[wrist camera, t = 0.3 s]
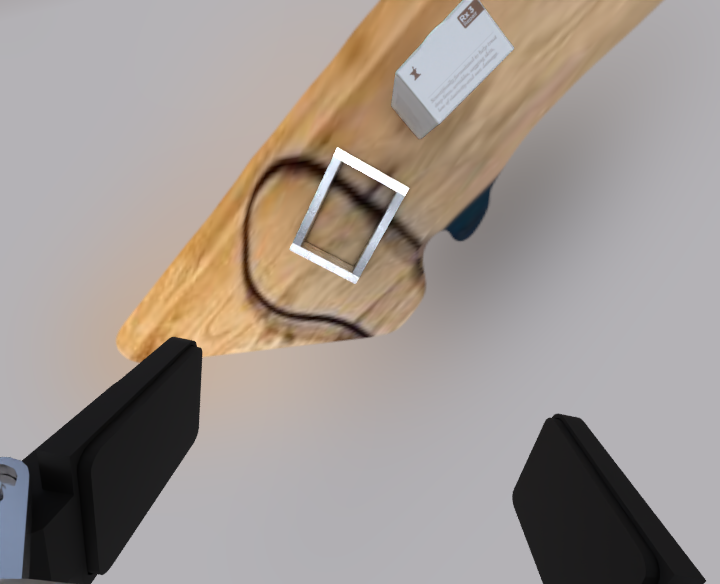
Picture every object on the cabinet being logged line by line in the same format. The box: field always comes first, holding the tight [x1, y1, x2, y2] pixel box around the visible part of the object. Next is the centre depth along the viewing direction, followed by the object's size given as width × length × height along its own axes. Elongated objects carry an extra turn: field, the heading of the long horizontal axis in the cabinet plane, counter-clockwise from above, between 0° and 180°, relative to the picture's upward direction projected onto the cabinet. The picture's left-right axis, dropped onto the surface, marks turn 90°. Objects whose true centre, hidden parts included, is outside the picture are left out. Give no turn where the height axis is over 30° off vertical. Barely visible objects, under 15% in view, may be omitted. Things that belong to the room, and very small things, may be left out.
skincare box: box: [391, 0, 514, 139], centre depth 27 cm, size 6×4×12 cm
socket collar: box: [289, 148, 409, 284], centre depth 36 cm, size 11×7×2 cm
